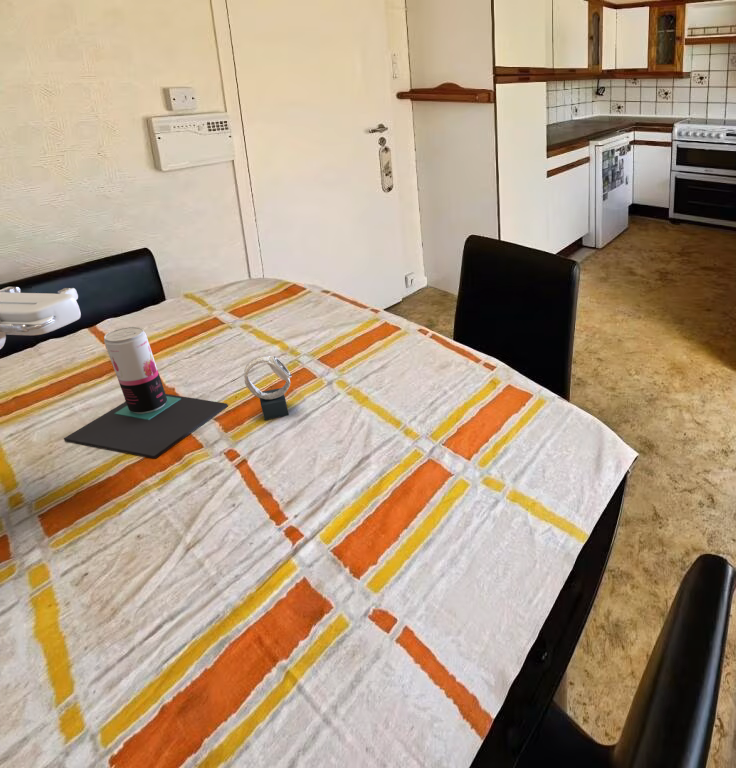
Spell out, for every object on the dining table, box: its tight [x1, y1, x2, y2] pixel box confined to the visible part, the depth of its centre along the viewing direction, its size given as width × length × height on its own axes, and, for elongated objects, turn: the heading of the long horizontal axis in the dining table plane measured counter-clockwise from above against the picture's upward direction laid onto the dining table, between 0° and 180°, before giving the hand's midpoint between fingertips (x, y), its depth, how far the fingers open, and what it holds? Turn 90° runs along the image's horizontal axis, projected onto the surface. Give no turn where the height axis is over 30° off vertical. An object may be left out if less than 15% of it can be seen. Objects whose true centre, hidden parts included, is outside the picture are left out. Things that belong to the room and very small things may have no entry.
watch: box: [243, 355, 292, 421], centre depth 115 cm, size 6×8×11 cm
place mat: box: [63, 393, 229, 460], centre depth 114 cm, size 20×18×1 cm
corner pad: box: [115, 396, 181, 420], centre depth 118 cm, size 8×8×1 cm
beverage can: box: [103, 326, 167, 414], centre depth 115 cm, size 7×7×15 cm
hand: (44, 292), depth 95 cm, fingers open, 8 cm apart
